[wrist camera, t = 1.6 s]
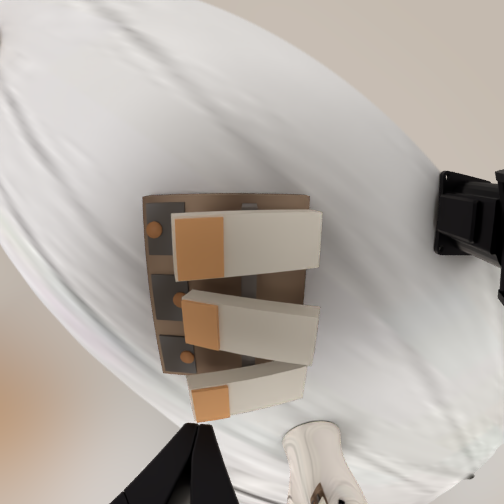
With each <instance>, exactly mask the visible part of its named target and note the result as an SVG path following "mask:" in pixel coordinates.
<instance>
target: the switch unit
mask: <svg viewBox="0 0 504 504" xmlns="http://www.w3.org/2000/svg"><path fill="white" fill-rule="evenodd" d="M309 202H310V196H307V195H298V194H257V193H210V194H169V195H149V196H144V197H143V221H144V238H145V251H146V262H147V272H148V281H149V290H150V298H151V305H152V312H153V319H154V326H155V332H156V338H157V344H158V349H159V354H160V360H161V365H162V370H163V373H168V374H178V375H195V374H203V373H210V372H217V371H223V370H230V369H236V368H241V367H247V366H252V365H257V364H262V363H267V362H272V361H274V360H268V359H263V358H257V357H252V356H247V355H241V354H236V353H232V352H227V351H222V350H219V351H217V350H212V349H208V348H204V347H200V346H196V345H192V344H188V343H186V342H185V334H184V325H183V315H182V305H181V301H182V297H183V296H184V295H186V294H187V293H188V292H190V291H191V290H192V289H193V290H199V291H206V292H212V293H218V294H225V295H232V296H239V297H246V298H253V299H260V300H268V301H275V302H283V303H292V304H300V305H303V300H304V288H305V275H306V269H302V270H293V271H284V272H274V273H265V274H255V275H245V276H234V277H224V278H213V279H202V280H191V281H179V282H176V280H175V274H174V263H173V247H172V227H171V213H189V212H211V211H239V210H291V209H309Z"/></svg>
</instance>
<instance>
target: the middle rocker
mask: <svg viewBox="0 0 504 504" xmlns="http://www.w3.org/2000/svg"><path fill="white" fill-rule="evenodd" d="M181 305H182V315H183V325H184V334H185V342H186V343H188V344H192V345H196V346H200V347H204V348H208V349H212V350H217V351H219V350H222V351H227V352H232V353H236V354H241V355H247V356H252V357H257V358H263V359H268V360H274V361H280V362H287V363H294V364H301V365H308V366H312V361H313V356H314V351H315V344H316V337H317V330H318V322H319V314H320V307H318V306H309V305H300V304H292V303H283V302H275V301H268V300H260V299H253V298H246V297H239V296H232V295H225V294H218V293H212V292H206V291H199V290H193V289H192V290H191V291H190V292H188V293H187V294H186V295H184V296H183V297H182V301H181Z"/></svg>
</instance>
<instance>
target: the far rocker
mask: <svg viewBox="0 0 504 504" xmlns="http://www.w3.org/2000/svg"><path fill="white" fill-rule="evenodd" d="M306 372H307V365H301V364H294V363H287V362H280V361H272V362H267V363H262V364H257V365H252V366H247V367H241V368H236V369H230V370H223V371H217V372H210V373H203V374H195V375H187V376H186V378H187V384H188V390H189V396H190V401H191V407H192V411H193V415H194V419H195V421H197V423H198V422H205V421H212V420H218V419H223V418H229V417H230V415H235V414H240V413H245V412H250V411H254V410H259V409H263V408H267V407H271V406H275V405H279V404H283V403H286V402H290V401H294V400H297V399H301V398H302V397H303V391H304V385H305V379H306Z"/></svg>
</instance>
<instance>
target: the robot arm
mask: <svg viewBox="0 0 504 504" xmlns="http://www.w3.org/2000/svg"><path fill="white" fill-rule="evenodd" d="M446 175H447V180H446ZM495 175H496V180H497V181H498V184H492V183H491V182H489V181H486V180H482V179H479V178H475V177H471V176H467V175H463V174H459V173H455V172H450V171H443V172H442V173H441V175H440V196H439V210H438V221H437V231H436V239H435V246H434V250H435V252H436V253H437V254H439V255H473V256H475V257H478V258H480V259H482V260H484V261H486V262H489V263H491V264H493V265H495V266H497V267H499V268H501V278H500V289H499V290H498V299H499V300H500V301H501V303H502V304H503V305H504V169H503V170H499V171H496V172H495ZM440 246H441V249H440V250H439V248H440ZM110 504H239V502H238V499H237V497H236V494H235V491H234V489H233V486H232V483H231V481H230V478H229V475H228V472H227V470H226V467H225V464H224V461H223V458H222V455H221V452H220V449H219V446H218V443H217V439H216V436H215V433H214V430H213V427H212V425H208V424H200V425H198V424H195V423H185V424H184V425H183V427H182V428H181V429H180V430H179V431H178V432H177V434H176V435H175V436H174V437H173V438H172V439H171V440H170V441H169V443H168V444H167V445H166V446H165V447H164V448H163V449H162V450H161V451H160V452H159V454H158V455H157V456H156V457H155V458H154V459H153V460H152V461H151V462H150V463H149V464H148V465H147V466H146V468H145V469H144V470H143V471H142V472H141V473H140V474H139V475H138V476H137V477H136V478H135V479H134V480H133V481H132V482H131V483H130V484H129V485H128V487H126V488H125V489H124V492H121V493H120V494H119V495H118V496H117V497H116V498H115V499H114V500H113V501H112V502H111V503H110Z"/></svg>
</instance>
